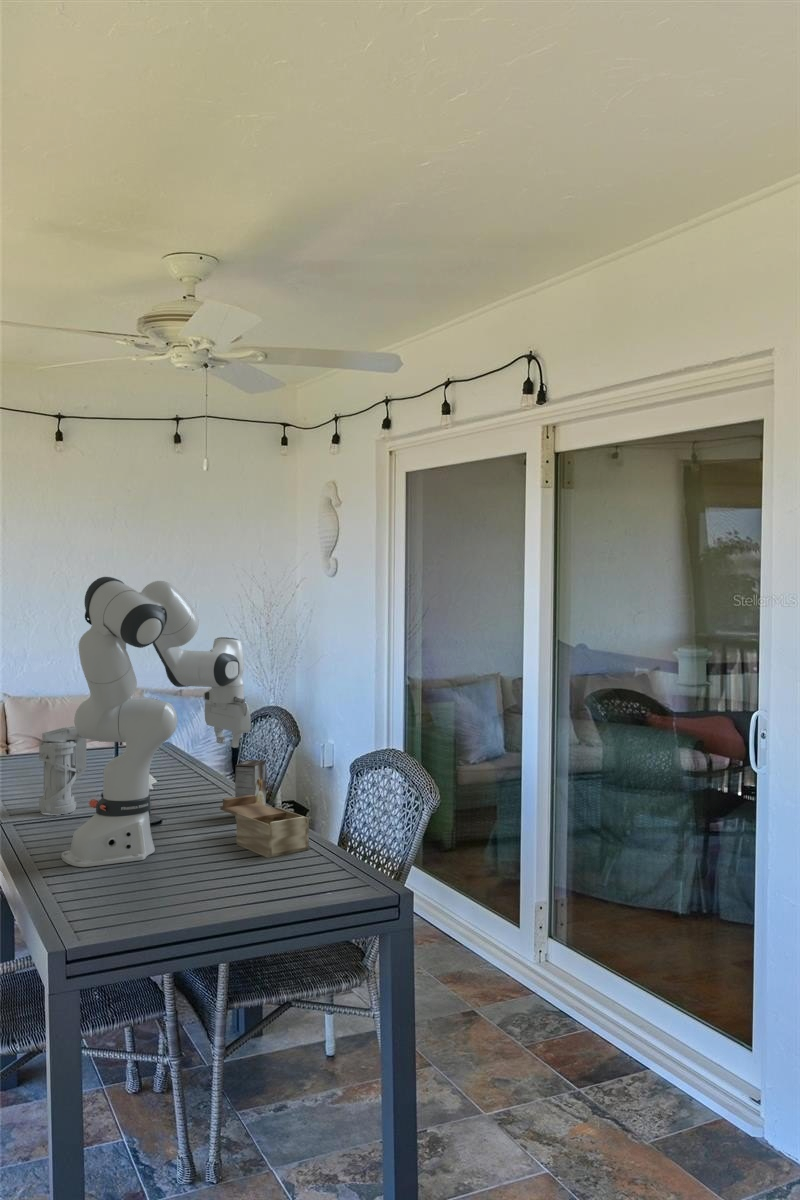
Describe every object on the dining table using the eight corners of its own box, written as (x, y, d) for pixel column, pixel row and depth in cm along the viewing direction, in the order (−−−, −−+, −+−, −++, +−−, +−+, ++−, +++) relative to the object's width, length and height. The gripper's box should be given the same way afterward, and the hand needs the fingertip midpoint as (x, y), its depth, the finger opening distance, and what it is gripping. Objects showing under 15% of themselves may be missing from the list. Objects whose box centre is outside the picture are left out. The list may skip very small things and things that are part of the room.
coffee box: (245, 813, 291) (245, 759, 291) (266, 814, 290) (266, 760, 289) (234, 820, 282) (234, 764, 282) (255, 821, 281) (255, 765, 280)
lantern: (43, 817, 284) (43, 731, 283) (36, 810, 293) (36, 727, 292) (88, 812, 290) (88, 728, 290) (80, 805, 299) (80, 724, 299)
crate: (268, 857, 243) (268, 823, 243) (236, 844, 256) (236, 811, 256) (308, 849, 251) (308, 816, 251) (275, 837, 263) (276, 805, 263)
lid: (251, 821, 251) (251, 810, 251) (220, 809, 264) (220, 799, 264) (285, 815, 258) (285, 804, 258) (254, 804, 271) (254, 794, 271)
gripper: (256, 698, 265) (256, 749, 265) (220, 691, 281) (220, 739, 281) (236, 700, 261) (235, 751, 261) (200, 692, 277) (200, 741, 277)
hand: (227, 745), depth 272 cm, fingers open, 7 cm apart
